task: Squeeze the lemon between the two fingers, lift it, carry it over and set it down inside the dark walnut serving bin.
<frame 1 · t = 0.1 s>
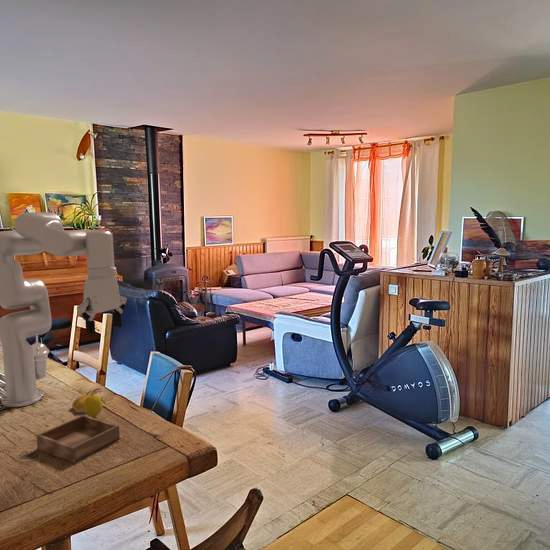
hand: (104, 329, 143), 31 cm above the table, fingers open, 9 cm apart
bread roll: (86, 408, 163), on the table
serving bin: (79, 443, 138), on the table
lemon: (94, 418, 155), on the table
cup with straw: (40, 376, 195), on the table
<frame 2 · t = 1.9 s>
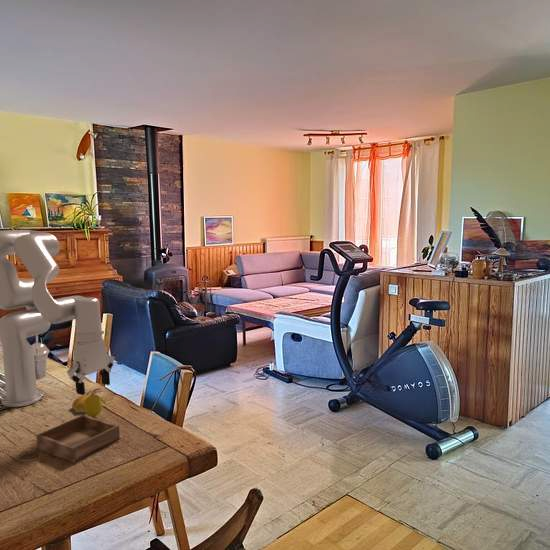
hand: (93, 389, 153), 10 cm above the table, fingers open, 9 cm apart
nothing on the table moved.
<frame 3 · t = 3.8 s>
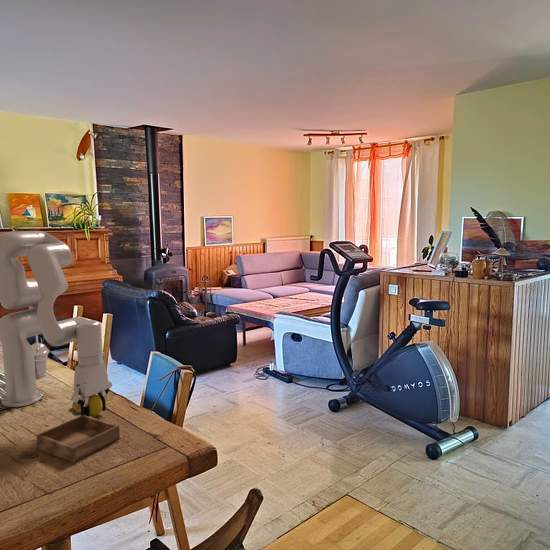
hand: (93, 413, 155), 2 cm above the table, fingers closed on lemon, 5 cm apart
lemon: (94, 418, 155), on the table, touching gripper
everything else where it was.
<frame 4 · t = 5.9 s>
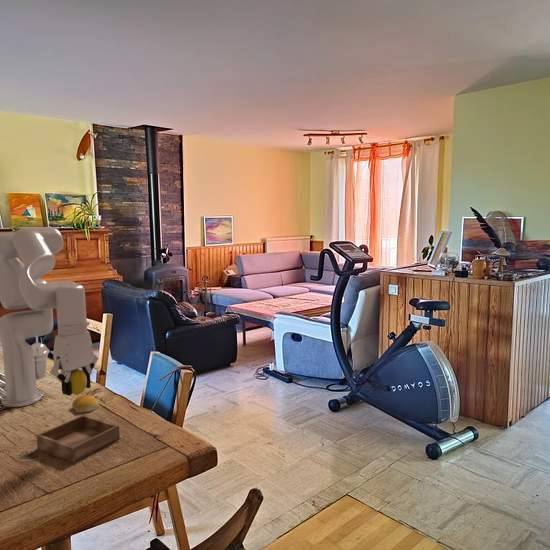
hand: (76, 390, 136), 16 cm above the table, fingers closed on lemon, 5 cm apart
lemon: (77, 395, 136), point 14 cm above the table, touching gripper
everything else where it was.
when the fingers open (4 cm above the table, at t = 8.5 s): lemon drops 2 cm, resting on serving bin.
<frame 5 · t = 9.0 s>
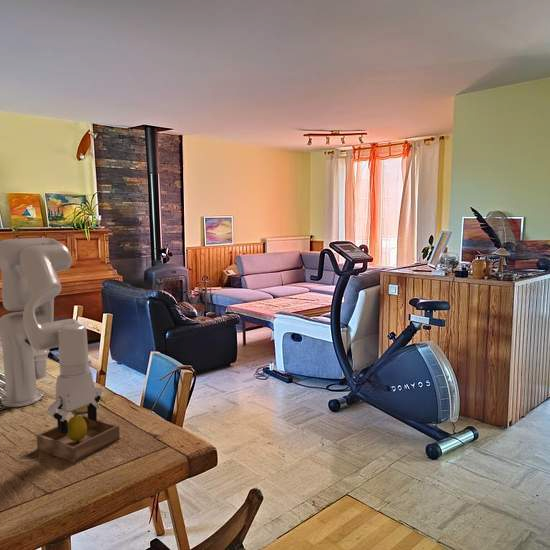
hand: (78, 426, 137), 5 cm above the table, fingers open, 9 cm apart
lemon: (78, 442, 137), resting on serving bin
everything else where it was.
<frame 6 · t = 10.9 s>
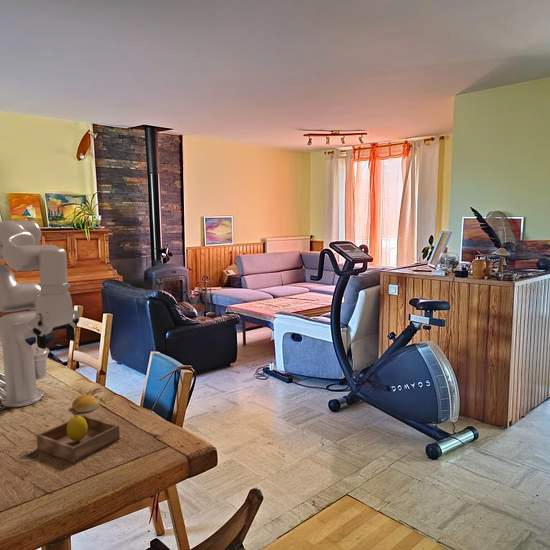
hand: (56, 343, 146), 26 cm above the table, fingers open, 9 cm apart
nothing on the table moved.
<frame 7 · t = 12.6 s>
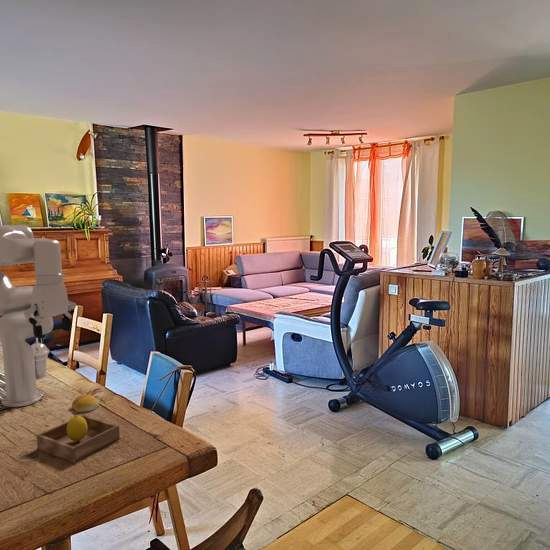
hand: (52, 334, 149), 28 cm above the table, fingers open, 9 cm apart
nothing on the table moved.
at the end: lemon inside the target area on the serving bin (0.4 cm from its centre), point 0.4 cm above the serving bin's base; the gripper is holding nothing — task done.
